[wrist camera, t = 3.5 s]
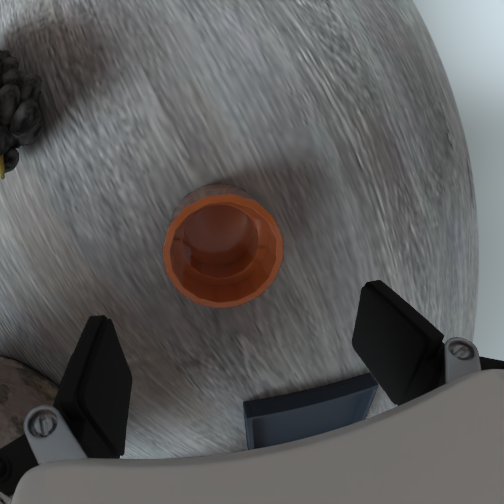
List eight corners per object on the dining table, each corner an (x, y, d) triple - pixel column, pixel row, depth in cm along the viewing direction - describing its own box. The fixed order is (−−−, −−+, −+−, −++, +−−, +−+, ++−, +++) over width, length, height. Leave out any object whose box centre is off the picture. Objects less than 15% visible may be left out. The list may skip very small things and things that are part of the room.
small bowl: (263, 180, 21) (283, 190, 17) (265, 269, 24) (282, 300, 19) (164, 188, 20) (155, 201, 15) (176, 279, 23) (173, 313, 18)
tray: (369, 372, 32) (378, 384, 30) (351, 424, 36) (357, 435, 34) (242, 402, 29) (246, 418, 27) (247, 450, 34) (250, 463, 32)
